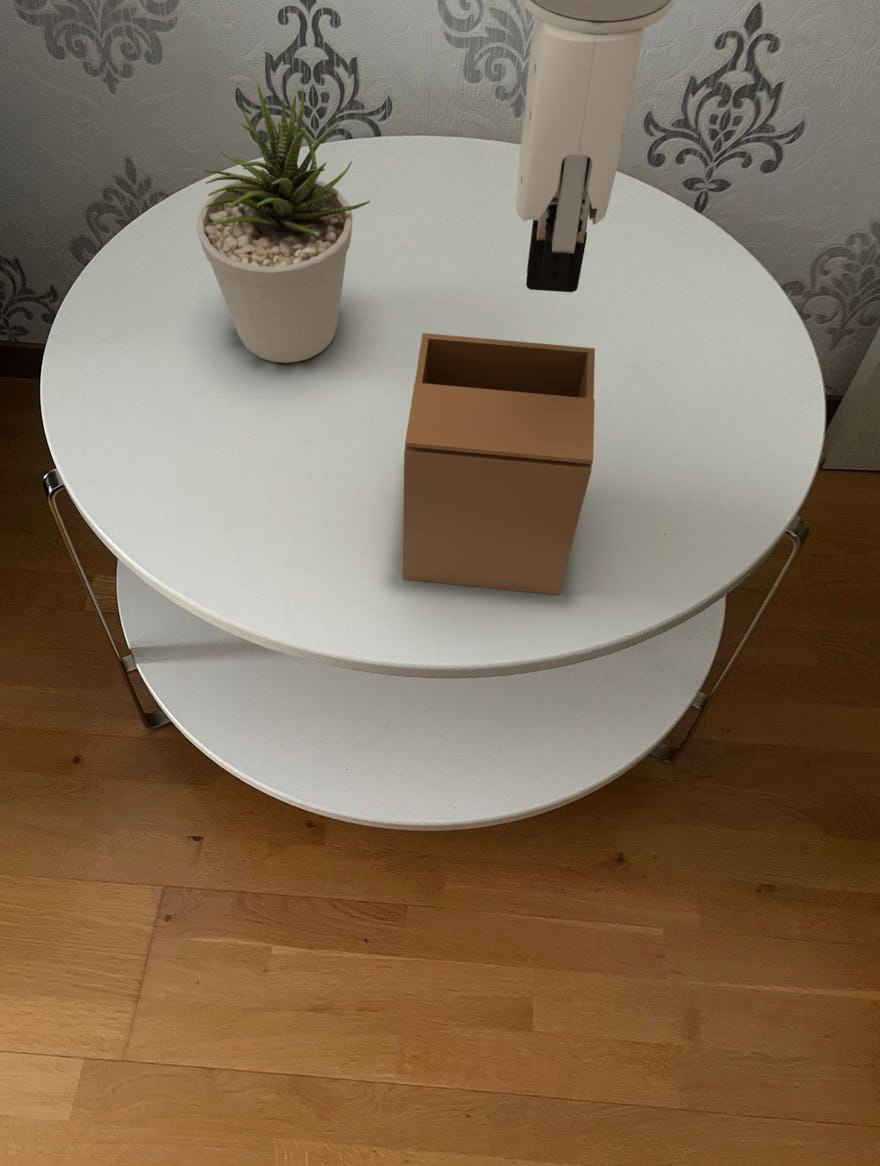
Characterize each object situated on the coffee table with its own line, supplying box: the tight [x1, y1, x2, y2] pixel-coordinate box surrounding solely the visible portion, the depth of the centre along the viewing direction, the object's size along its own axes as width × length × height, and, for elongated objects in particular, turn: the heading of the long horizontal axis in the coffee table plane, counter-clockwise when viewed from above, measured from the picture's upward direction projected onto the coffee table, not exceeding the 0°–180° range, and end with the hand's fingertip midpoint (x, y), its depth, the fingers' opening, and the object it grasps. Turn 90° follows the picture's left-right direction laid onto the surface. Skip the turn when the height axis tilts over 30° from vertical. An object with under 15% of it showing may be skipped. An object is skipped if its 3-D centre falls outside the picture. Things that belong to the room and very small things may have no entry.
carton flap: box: [404, 382, 596, 464], centre depth 63 cm, size 12×5×1 cm, turn 83°
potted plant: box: [196, 82, 371, 364], centre depth 81 cm, size 13×14×20 cm
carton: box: [402, 332, 596, 596], centre depth 72 cm, size 12×11×14 cm
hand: (551, 282), depth 62 cm, fingers closed
